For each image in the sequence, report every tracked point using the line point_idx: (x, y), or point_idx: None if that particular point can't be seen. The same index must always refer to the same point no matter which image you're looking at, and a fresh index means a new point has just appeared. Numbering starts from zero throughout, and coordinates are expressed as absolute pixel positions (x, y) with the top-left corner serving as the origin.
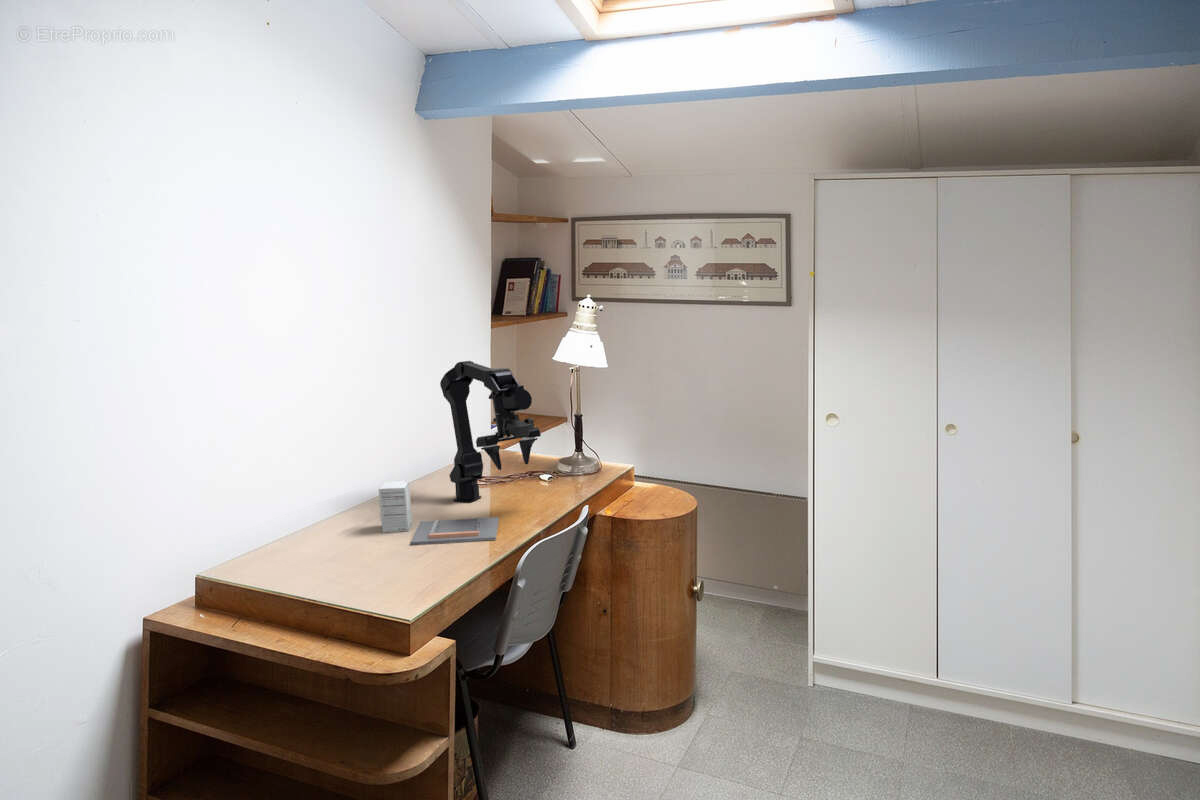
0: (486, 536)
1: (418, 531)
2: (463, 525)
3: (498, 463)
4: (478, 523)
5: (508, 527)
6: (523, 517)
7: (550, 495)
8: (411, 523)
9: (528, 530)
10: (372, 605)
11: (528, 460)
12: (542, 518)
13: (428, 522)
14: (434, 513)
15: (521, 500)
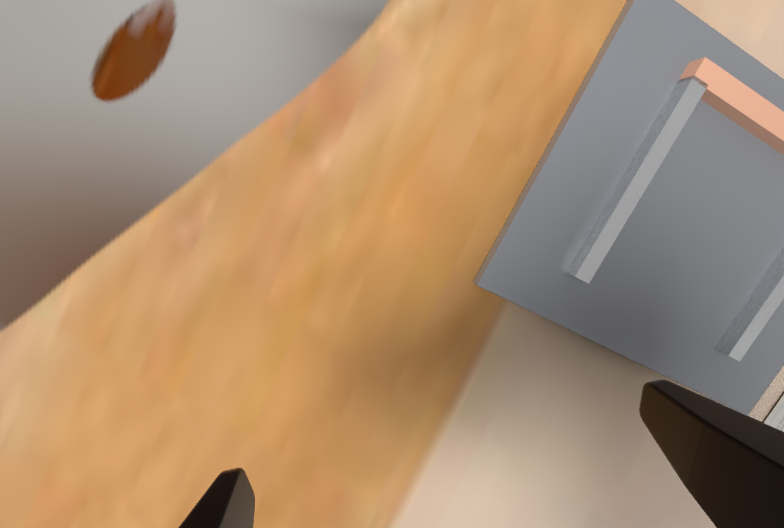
0: (669, 26)
1: None
2: (657, 261)
3: (770, 429)
4: (633, 196)
5: (491, 142)
6: (360, 248)
7: (89, 503)
8: (771, 420)
9: (436, 26)
10: None
11: (198, 508)
12: (286, 172)
13: (734, 385)
14: (630, 508)
15: None
